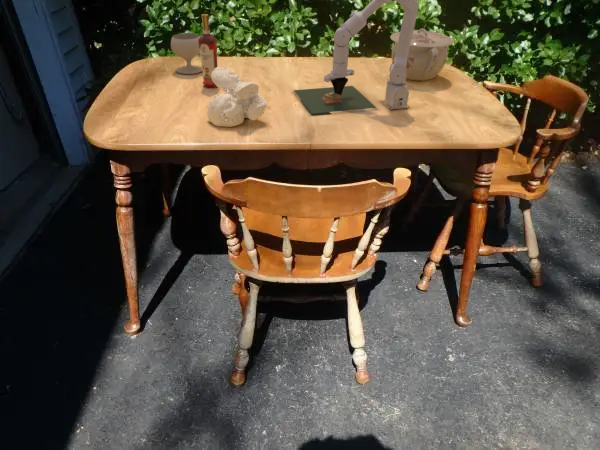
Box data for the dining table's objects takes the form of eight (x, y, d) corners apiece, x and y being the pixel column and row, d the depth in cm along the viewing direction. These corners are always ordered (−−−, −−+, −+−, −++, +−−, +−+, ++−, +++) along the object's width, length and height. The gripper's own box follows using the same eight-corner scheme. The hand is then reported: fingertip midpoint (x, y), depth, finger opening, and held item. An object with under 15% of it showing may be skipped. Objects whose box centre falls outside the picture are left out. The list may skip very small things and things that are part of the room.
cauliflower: (185, 97, 162) (224, 57, 165) (213, 133, 178) (248, 96, 182) (219, 116, 152) (259, 73, 155) (245, 152, 168) (281, 113, 172)
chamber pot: (398, 64, 231) (404, 18, 219) (453, 74, 220) (463, 26, 208) (375, 79, 211) (381, 30, 200) (435, 90, 200) (444, 39, 188)
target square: (342, 102, 185) (342, 101, 185) (326, 103, 183) (326, 103, 183) (337, 96, 190) (337, 96, 190) (321, 97, 189) (321, 97, 188)
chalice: (211, 69, 218) (208, 35, 209) (190, 77, 208) (186, 41, 200) (188, 64, 224) (185, 31, 215) (167, 71, 214) (162, 37, 206)
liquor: (199, 87, 197) (192, 15, 181) (206, 82, 203) (200, 12, 187) (216, 89, 196) (210, 17, 180) (222, 83, 202) (217, 13, 186)
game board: (376, 109, 181) (376, 107, 181) (311, 115, 175) (311, 113, 174) (352, 87, 201) (352, 85, 201) (293, 92, 195) (293, 90, 195)
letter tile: (331, 96, 189) (332, 91, 188) (340, 100, 187) (340, 94, 185) (324, 99, 187) (324, 94, 185) (332, 102, 184) (332, 97, 183)
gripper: (346, 55, 187) (343, 89, 194) (319, 62, 179) (317, 97, 187) (359, 60, 182) (356, 94, 190) (332, 66, 174) (330, 102, 182)
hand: (337, 96), depth 188 cm, fingers closed
